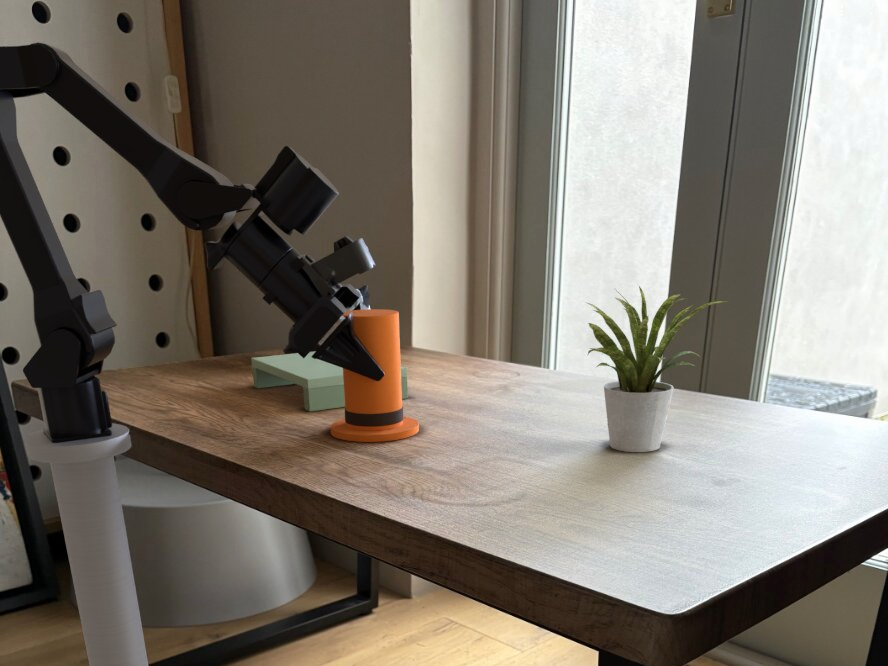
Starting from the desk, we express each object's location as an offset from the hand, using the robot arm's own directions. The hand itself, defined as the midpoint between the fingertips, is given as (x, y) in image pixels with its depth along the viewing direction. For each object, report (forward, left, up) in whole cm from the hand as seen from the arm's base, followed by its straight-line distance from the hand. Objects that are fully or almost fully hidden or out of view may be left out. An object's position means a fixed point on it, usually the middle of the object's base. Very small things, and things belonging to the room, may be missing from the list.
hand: (384, 372), depth 103 cm
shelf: (+4, +25, -7) cm, 26 cm away
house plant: (+20, -21, -7) cm, 30 cm away
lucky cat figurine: (+15, +49, -7) cm, 51 cm away
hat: (-1, +1, -7) cm, 7 cm away
